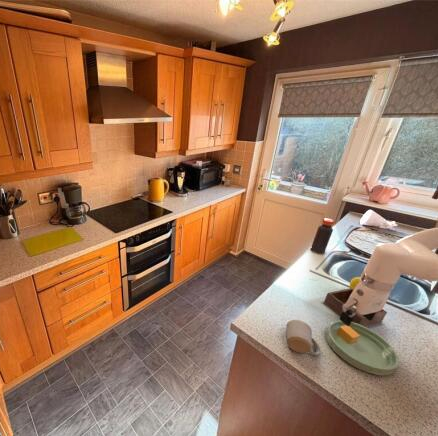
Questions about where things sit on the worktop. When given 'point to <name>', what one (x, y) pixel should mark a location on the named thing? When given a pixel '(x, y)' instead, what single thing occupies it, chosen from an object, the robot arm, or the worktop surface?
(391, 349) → the plate
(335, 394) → the worktop surface
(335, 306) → the holder
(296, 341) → the ceramic mug
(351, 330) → the orange block
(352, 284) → the lemon
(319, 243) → the bottle
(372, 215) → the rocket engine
